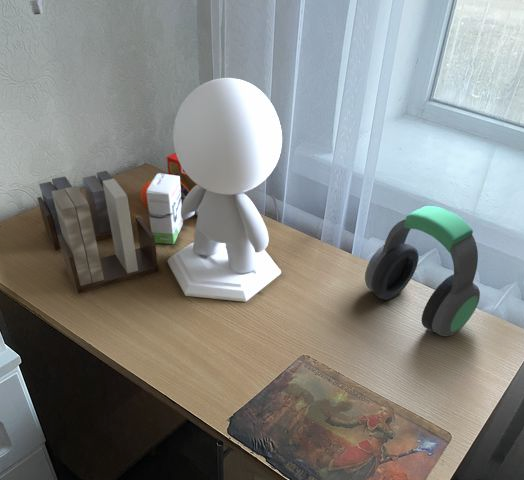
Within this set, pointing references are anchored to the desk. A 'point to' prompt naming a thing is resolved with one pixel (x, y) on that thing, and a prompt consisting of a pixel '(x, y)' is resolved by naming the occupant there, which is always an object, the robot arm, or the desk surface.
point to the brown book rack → (95, 245)
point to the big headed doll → (225, 188)
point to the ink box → (165, 207)
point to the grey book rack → (94, 200)
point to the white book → (120, 225)
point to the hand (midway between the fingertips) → (9, 15)
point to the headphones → (406, 259)
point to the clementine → (143, 193)
